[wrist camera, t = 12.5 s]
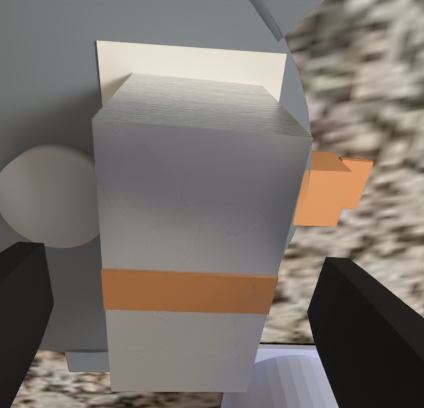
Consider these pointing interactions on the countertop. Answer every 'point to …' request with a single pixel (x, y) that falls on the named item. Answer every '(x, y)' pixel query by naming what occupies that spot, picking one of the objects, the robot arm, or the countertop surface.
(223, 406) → the robot arm
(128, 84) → the orange-banded grey block
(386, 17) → the countertop surface
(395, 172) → the countertop surface
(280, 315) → the countertop surface
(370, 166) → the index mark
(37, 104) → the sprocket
